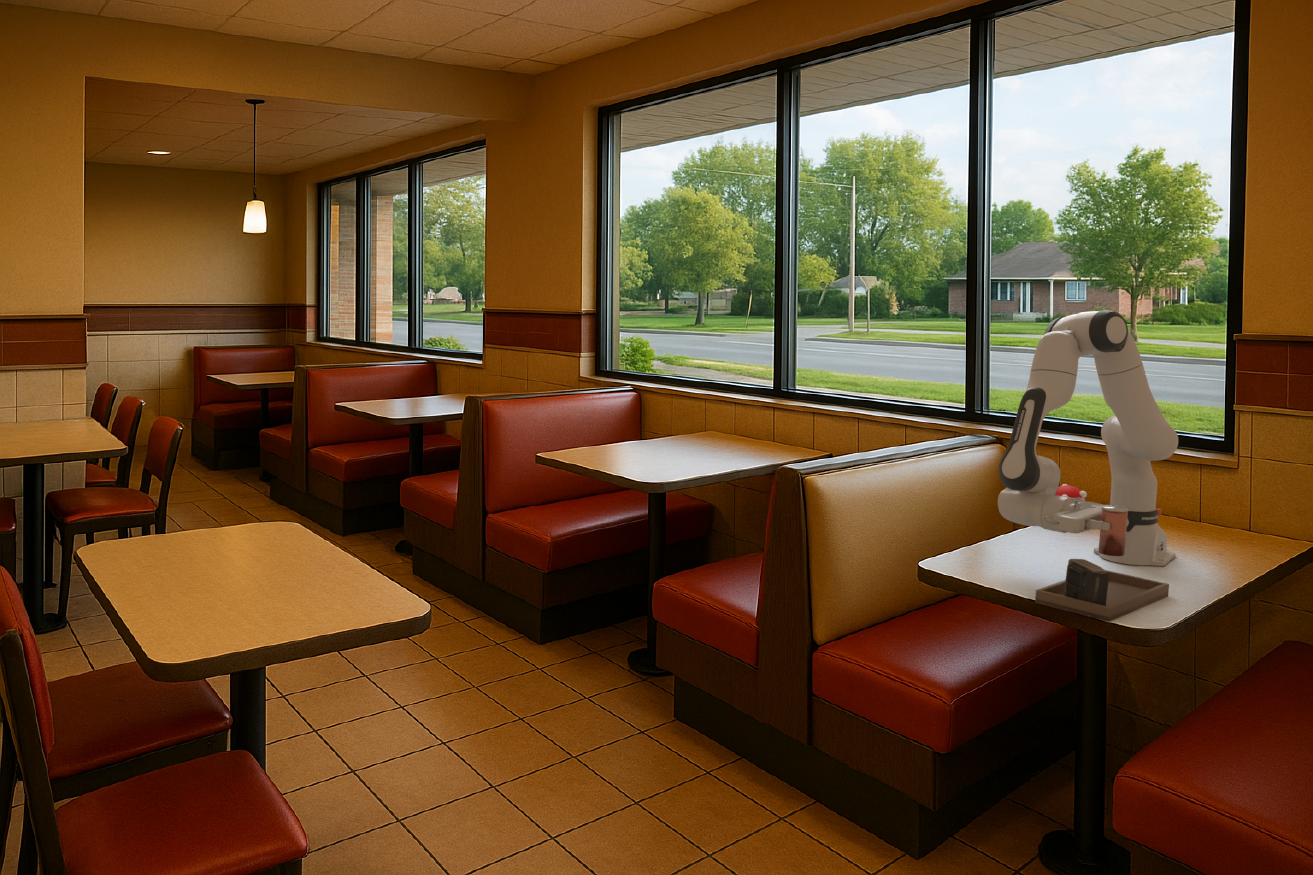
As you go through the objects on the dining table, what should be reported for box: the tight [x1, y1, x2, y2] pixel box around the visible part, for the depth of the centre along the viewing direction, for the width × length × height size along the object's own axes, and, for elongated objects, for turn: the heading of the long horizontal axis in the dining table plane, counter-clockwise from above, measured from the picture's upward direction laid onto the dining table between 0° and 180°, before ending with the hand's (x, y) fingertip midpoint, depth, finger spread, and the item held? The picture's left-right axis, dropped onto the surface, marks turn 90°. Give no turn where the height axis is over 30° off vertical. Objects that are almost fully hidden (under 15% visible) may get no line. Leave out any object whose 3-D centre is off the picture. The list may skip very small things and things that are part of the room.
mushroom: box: [1056, 483, 1088, 500], centre depth 306 cm, size 11×11×12 cm
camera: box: [1064, 558, 1109, 606], centre depth 220 cm, size 11×6×10 cm, turn 5°
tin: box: [1098, 504, 1128, 556], centre depth 230 cm, size 6×6×11 cm
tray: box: [1034, 569, 1170, 623], centre depth 226 cm, size 30×17×3 cm, turn 130°
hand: (1117, 524), depth 229 cm, fingers closed on tin, 6 cm apart
